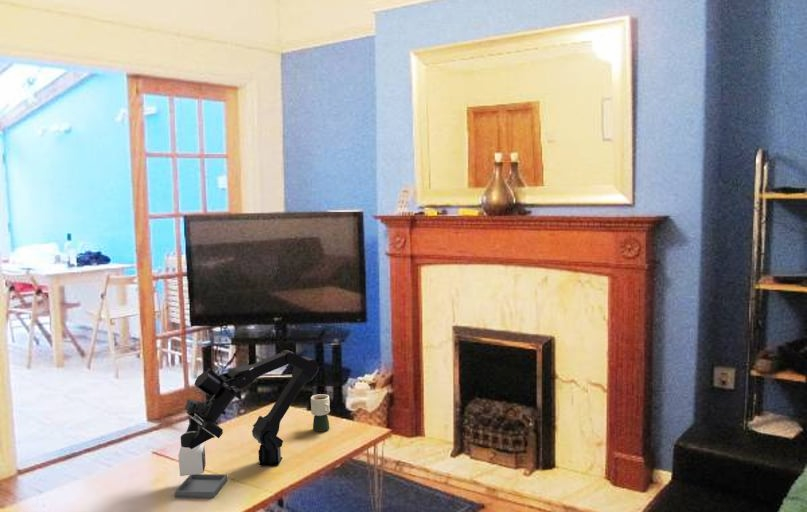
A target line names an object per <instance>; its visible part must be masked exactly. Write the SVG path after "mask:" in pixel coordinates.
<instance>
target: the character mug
mask: <svg viewBox="0 0 807 512" xmlns="http://www.w3.org/2000/svg"><path fill="white" fill-rule="evenodd" d="M330 403H331V400H330V395H328V394H325V393H324V394H323V393H322V394H321V393H319V394H315V395H312V396H310V404H311V405H310V407H311V408H310V411H311V412H310V413H311V415H312V416H313V423H312V430H313V431H315V432H324V431H327V430H329V429H330V422H329V421H330V420H329V416H328V414H329V413H330V412H331V409H330Z"/></svg>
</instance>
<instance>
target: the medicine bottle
mask: <svg viewBox="0 0 807 512" xmlns="http://www.w3.org/2000/svg"><path fill="white" fill-rule="evenodd" d="M196 434H197V432H195V431H192V432H187V433H186V432H185V433H183V434H182V435H180V449H179V452H178V467H179V476H180V477H186V476H190V475H195V474H205V473H204V472H205V468H206V465H207V463H206V449H205V443H202V444H200V445H198V446H196V447H195V448H193V449H190V448H189V446H190V444H191V442H192V441H193V439H194V437H195V436H196Z"/></svg>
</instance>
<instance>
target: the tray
mask: <svg viewBox="0 0 807 512" xmlns="http://www.w3.org/2000/svg"><path fill="white" fill-rule="evenodd" d="M227 482H228V474H218V473H217V474H216V473H215V474H214V473H213V474H212V473H211V474H210V473H209V474H207V473H206V474H205V473H203V474H195V475H188V477H186V479H185V480H184V481H182V483H180V484H179V486H178V487H177V488H176V489H175V491H174V498H175V499H176V498H177V499H179V498H180V499H214V498H216V496H217V495H218V494H219V492H220V491H221V490H222V488H223V487H224V486H225V485H226V483H227Z"/></svg>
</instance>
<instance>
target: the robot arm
mask: <svg viewBox="0 0 807 512" xmlns="http://www.w3.org/2000/svg"><path fill="white" fill-rule="evenodd" d="M289 364H290V365H291V366H293V368H292V371H291V378H290V379H289V381H288V382H287V384H286V385H285V387H284V389H283V391H281V393H280V395H279V396H278V397H277V399H276V401H275V403H274V404H273V406H272V408H271V409H270V411H269V412H268V413H267V414H266V415H265V416H262V415H259V416H258V418H257V420H256V422H255V423H254V424H252V427H253V428H252V430H251V433H252V438H253V439H255V440H256V441H257V443H258V444H260V445H259V449H258V452H257V453H258V462H259V464H258V466H259V467H278V466H279V465H280V463H281V462H282V460H283V457H282V454H281V453H282V451H281V448H282V447H283V443H284V440H283V439H282V438H280V437H279V436H278V433H279V431H280V427H281V426H280V425H281V421H282V420H283V418H284V416H285V415H286V413H287V411H288V410H289V408H290V407H291V406H292V403H293V402H294V400H295V399H296V397H298V394H299V393H300V391H301V390H302V389H303V387H304V385H306V384H307V383H308V382H310V381H312V380H313V379H314V377H315V376H316V375H317V374H318V372H319V369H320V367H319V363H318V361H316V360H315V359H312V358H310V357H307V356H300V355H298V354H295V352H293V351H290V350H288V349H284V350H282V351H281V352H279V353H277V354H275V355H272V356H269V357H268V358H264V359H262V360H260V361H258V362H255V363H252V364H248V365H240V366H236V367H232V368H230V369H229V370H228V371H227V372H224V373H221V374H219V375H218V374H216V373H215V371H214V370H212V369H211V368H207V369H206V370H205V371H203V372H202V373H201V374H199V375H198V376H197V378H196V379H195V381H194V386H195V387H196V388H197V389H199V390H200V391H201V392H203V393H204V394H206V395H207V396H209V397H210V396H212V397H211V398H210V399H205V401H204V402H203V401H200V400H194V399H190V398H189V399H187V402H186V404H185V407H184V410H186V415H187V418H188V422H189V423H188V427H187V429H186V432H185V433H187V432H192V431H195V432H197V434H196V436H195V437H194V439H193V441H192V442H191V444H190V446H189V448H190V449H193V448H195V447H196V446H198V445H200V444H204V443H206V442H208V441H209V440H212V439H214V438H215V437H216V438H218V439H220V437H221V436H222V435H223V434H224V432H223V431H224V430H223V428H221V426H219V425H218V422H217V421H218V420H219V419H220V417H221V416H225V415H226V414H227V412H226V410H227V408H228V407H229V405H230V404H231V403H232V401H233V400H234V399H235V398H237V399H238V400H242V395H241V393H242V391H241V389H245V388H246V387H248V386H249V385H251V384H253V383H254V382H255V381H256V379H258V378H259V377H262V376H263V375H264V376H265V375H266V374H268V373H271V372H273V371H275V370H278V369H280V368H282V367H284V366H286V365H289ZM223 384H225V385H223ZM226 385H227V386H226ZM234 387H235V388H236V389H235V388H234Z"/></svg>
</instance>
